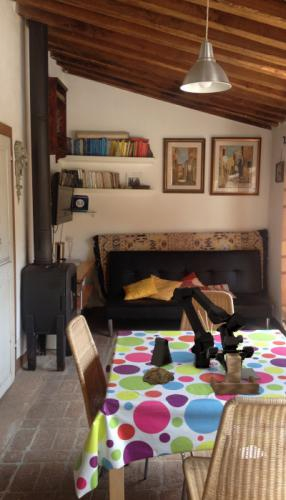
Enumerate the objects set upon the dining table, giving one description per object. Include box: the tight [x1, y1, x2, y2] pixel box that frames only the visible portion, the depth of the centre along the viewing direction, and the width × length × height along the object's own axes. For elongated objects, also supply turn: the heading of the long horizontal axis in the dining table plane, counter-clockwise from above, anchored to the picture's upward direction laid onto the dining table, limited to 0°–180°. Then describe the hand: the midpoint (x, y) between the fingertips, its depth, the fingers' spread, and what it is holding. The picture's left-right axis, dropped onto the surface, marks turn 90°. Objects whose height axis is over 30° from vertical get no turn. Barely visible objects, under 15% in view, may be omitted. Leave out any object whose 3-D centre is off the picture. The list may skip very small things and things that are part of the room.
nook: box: [209, 376, 260, 396], centre depth 176 cm, size 17×9×4 cm, turn 93°
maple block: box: [224, 353, 241, 383], centre depth 178 cm, size 5×5×13 cm
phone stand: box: [149, 336, 174, 368], centre depth 204 cm, size 9×6×12 cm, turn 132°
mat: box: [241, 367, 261, 380], centre depth 192 cm, size 12×12×1 cm
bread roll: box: [142, 366, 175, 386], centre depth 186 cm, size 13×12×5 cm
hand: (233, 372), depth 176 cm, fingers closed on maple block, 5 cm apart
